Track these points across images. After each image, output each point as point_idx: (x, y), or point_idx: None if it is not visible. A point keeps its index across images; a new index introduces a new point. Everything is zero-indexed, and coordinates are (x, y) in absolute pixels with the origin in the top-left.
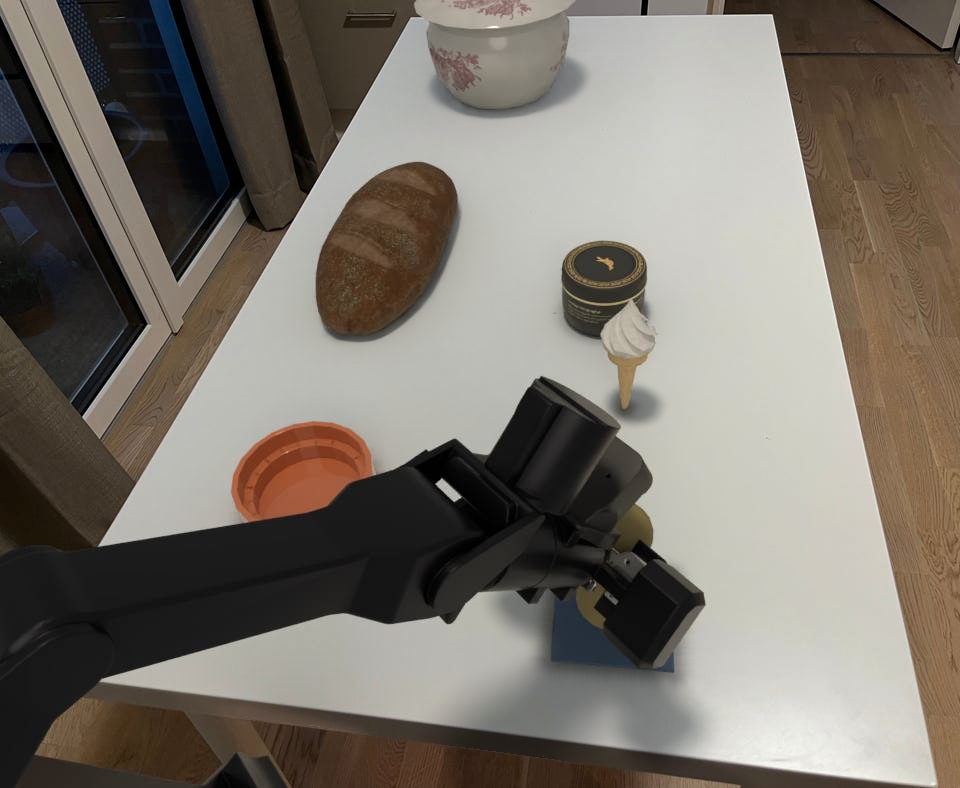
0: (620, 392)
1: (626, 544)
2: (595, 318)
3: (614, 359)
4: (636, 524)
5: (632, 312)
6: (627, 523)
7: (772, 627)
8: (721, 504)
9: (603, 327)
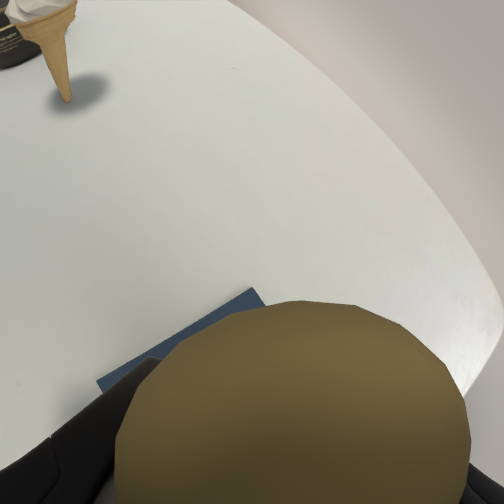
0: (56, 82)
1: None
2: (13, 42)
3: (31, 31)
4: (443, 448)
5: None
6: (413, 492)
7: (387, 273)
8: (240, 150)
9: (24, 47)
